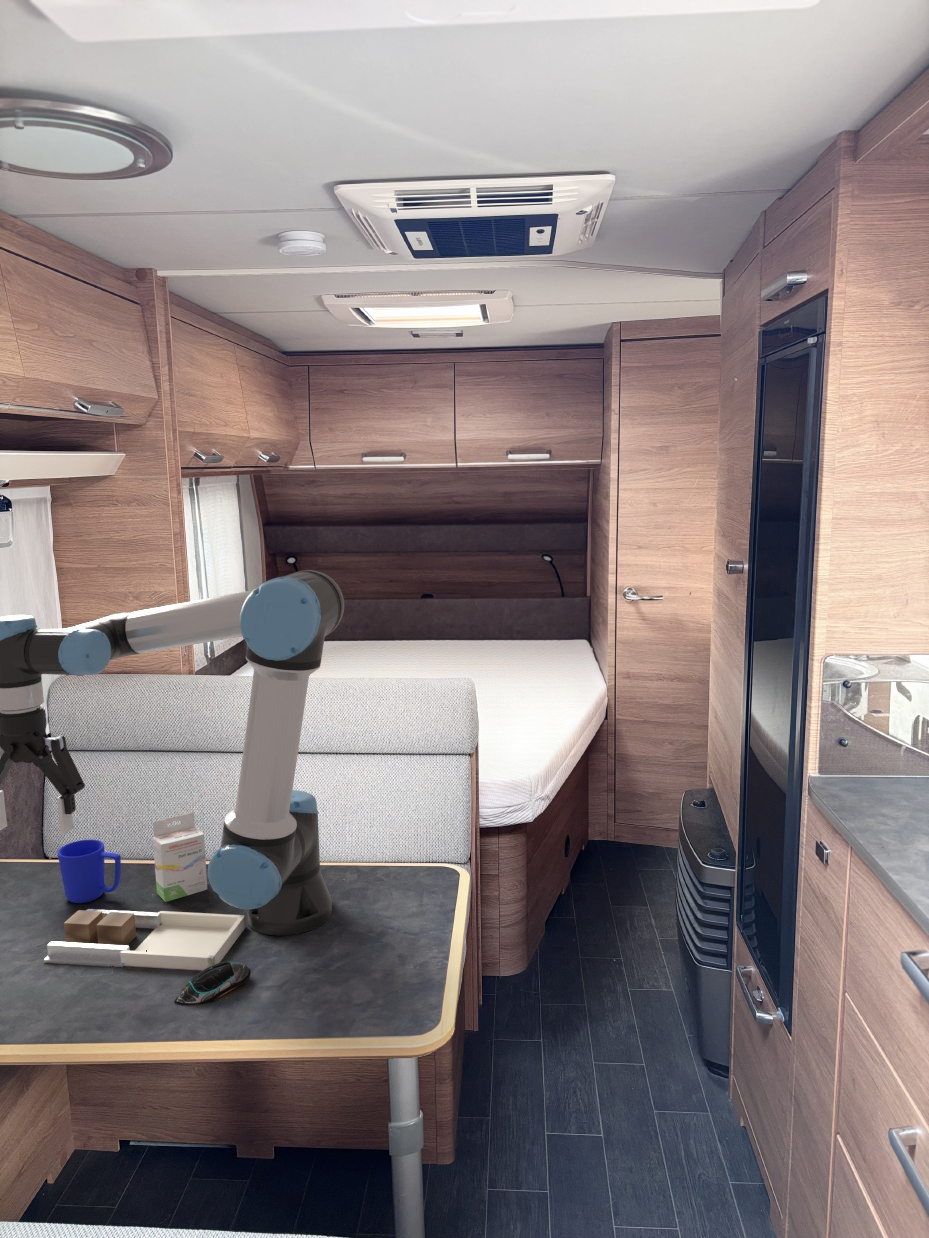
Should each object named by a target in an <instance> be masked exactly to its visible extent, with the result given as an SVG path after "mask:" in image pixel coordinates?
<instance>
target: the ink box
mask: <svg viewBox="0 0 929 1238" xmlns="http://www.w3.org/2000/svg"><path fill="white" fill-rule="evenodd" d="M173 822H180V823H178V824H174V825H171V826H168V824H172V823H173ZM152 825H153V826H152V828H153V837H152V844H153V856H154V857H153V858H154V859H153V860H154V873H155V886H156V894H157V895H158V897H160V898H161V899H162V900H163V901H164V902H165V903H168V902H170V901H175V900H176V899H181V898H183V897H187V896H190V895H193V894H197V893H201V892H203V891H206V890H208V881H207V878H208V874H207V864H206V863H207V862H206V861H207V859H206V847H205V846H206V844H205V842H206V841H205V834H204V833H203V832H202V831H201V830H200V829H199V828H198V827H197V826H195V814H194V812H189V813H184V814H180V815H175V816H171V817H167V818H163V819H160V820H154V822H153V824H152Z"/></svg>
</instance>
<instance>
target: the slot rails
mask: <svg viewBox="0 0 929 1238" xmlns="http://www.w3.org/2000/svg"><path fill="white" fill-rule="evenodd" d="M85 911H102V914H103V918H104V917H105V916H106V915H107V914H109V913H110V912H121V913H134V915H135V927H136V928H138V929H153V930H154V929H155V928H159V927H160V926H161V925H162V924H161V913H159V912H151V911H134V910H133V911H132V910H115V909H97V908H96V909H95V908H87V909H86V910H85ZM46 950H47V956H46V957H45V958H44V959H43V963H44V964H58V965H59V964H61V965H76V966H78V965H79V966H94V967H95V966H96V967H110V966H111V968H112V966H114V968H124V967H125V966H124V963H121V957H120V952H121V951H122V950H130V946H129V945H127V946H123V945H106V944H98V943H95V944H89V943H72V942H66V941H53V940H51V941H50V942H48V944H47V945H46ZM123 966H124V967H123Z"/></svg>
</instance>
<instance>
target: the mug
mask: <svg viewBox="0 0 929 1238" xmlns="http://www.w3.org/2000/svg"><path fill="white" fill-rule="evenodd" d="M107 858H108V859H113V860H114V880H113V881H114V882H113V886H107V885H106V884H105V859H107ZM57 859H58V864H59V869H60V873H61V879H62V884H63V888H64V893H65V897H66V899H67V900H68V901H69V902H71V903H74V904H83V903H88V902H89V903H90V902H92V901H94V900H97V899H99V898H100V897H101V896H102V895H103V893H112V892H114V891H115V890H116V889H117V888H118V887H119V884H120V882H121V881H120V880H121V875H122V874H121V871H122V870H121V869H122V865H121V863H122V858H121V854H119V853H115V852H105V843H104V842H103V841H101V840H99V839H82V840H81V839H80V840H75V841H72V842H69V843H67V844H65V845H63V846H62V847H60V848H59V849H58V851H57Z"/></svg>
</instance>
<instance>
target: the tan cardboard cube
mask: <svg viewBox="0 0 929 1238" xmlns="http://www.w3.org/2000/svg"><path fill="white" fill-rule="evenodd" d="M96 926H97V936H98V941H97V944H106V945H123V946H129V944H130V943H131V942H132V941H133V940H134V939H135V938H136V937H137V929H136V927H135V915H134V913H121V912H110V913H109V914H107V915H106V916H105V917H104V918H103V919H102V920H101V921H100V922H99V923H98V924H97V925H96Z"/></svg>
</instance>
